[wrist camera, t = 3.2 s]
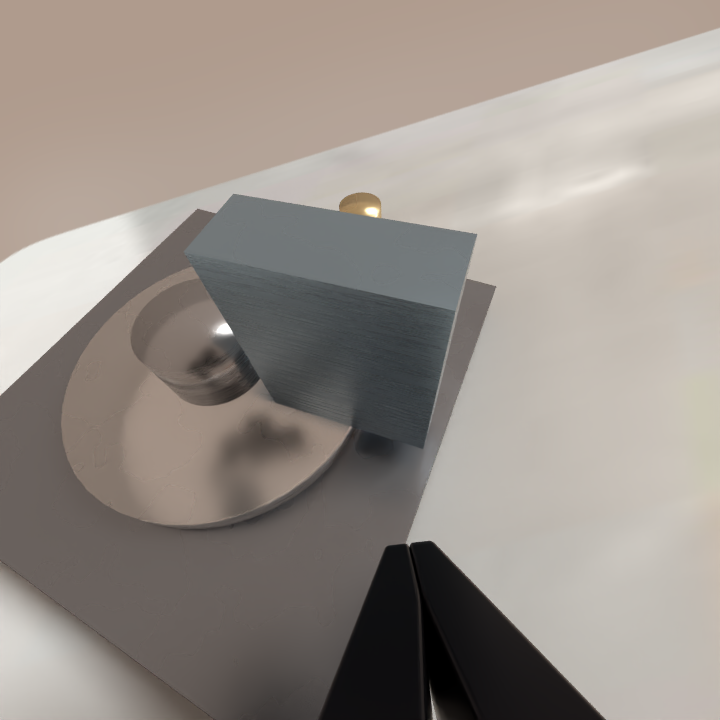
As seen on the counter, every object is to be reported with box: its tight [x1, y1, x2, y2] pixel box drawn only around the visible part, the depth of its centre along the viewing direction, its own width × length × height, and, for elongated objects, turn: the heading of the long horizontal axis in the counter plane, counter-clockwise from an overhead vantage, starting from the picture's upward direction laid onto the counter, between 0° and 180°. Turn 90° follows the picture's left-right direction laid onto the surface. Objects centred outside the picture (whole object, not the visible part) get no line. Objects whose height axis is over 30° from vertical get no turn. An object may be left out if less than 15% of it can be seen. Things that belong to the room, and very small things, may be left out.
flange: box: [61, 194, 477, 529], centre depth 12 cm, size 14×12×8 cm
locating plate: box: [0, 193, 496, 720], centre depth 14 cm, size 18×18×6 cm
